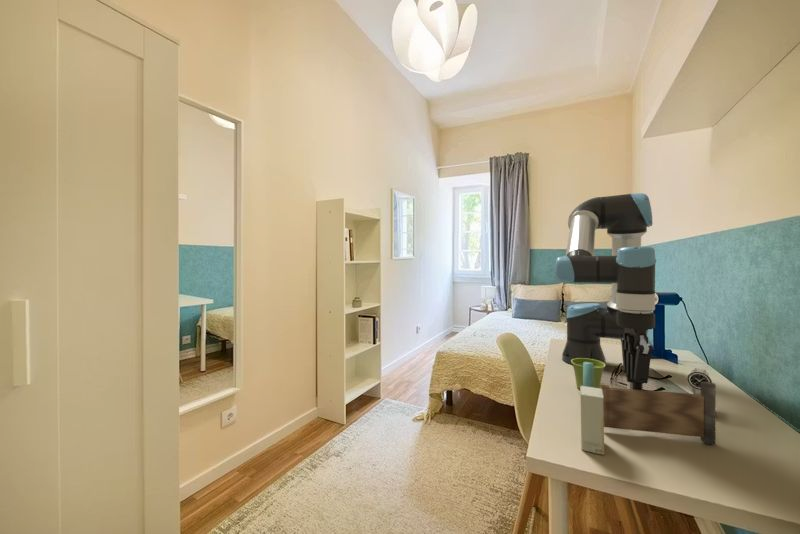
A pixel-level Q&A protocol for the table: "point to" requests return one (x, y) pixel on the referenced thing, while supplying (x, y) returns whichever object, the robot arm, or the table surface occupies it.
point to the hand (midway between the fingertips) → (634, 407)
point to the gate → (662, 411)
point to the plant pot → (597, 371)
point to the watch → (697, 380)
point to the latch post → (588, 374)
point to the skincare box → (592, 419)
